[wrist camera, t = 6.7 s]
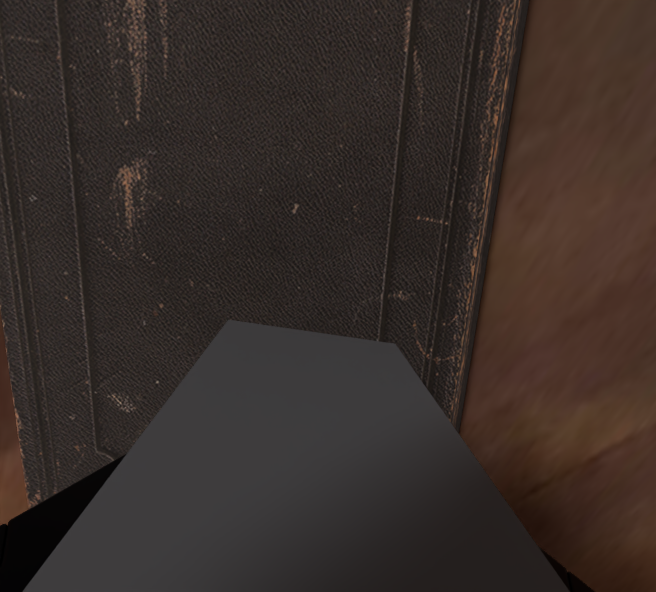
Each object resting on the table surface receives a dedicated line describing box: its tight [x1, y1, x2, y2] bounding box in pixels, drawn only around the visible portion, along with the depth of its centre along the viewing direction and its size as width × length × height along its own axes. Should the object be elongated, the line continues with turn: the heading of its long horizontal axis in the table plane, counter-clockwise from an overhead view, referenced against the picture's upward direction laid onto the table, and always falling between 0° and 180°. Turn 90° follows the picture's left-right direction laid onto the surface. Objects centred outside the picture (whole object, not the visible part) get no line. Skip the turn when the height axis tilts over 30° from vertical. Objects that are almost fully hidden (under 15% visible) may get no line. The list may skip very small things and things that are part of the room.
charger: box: [23, 320, 570, 592], centre depth 6 cm, size 4×4×7 cm
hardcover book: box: [0, 0, 529, 509], centre depth 12 cm, size 16×23×2 cm
